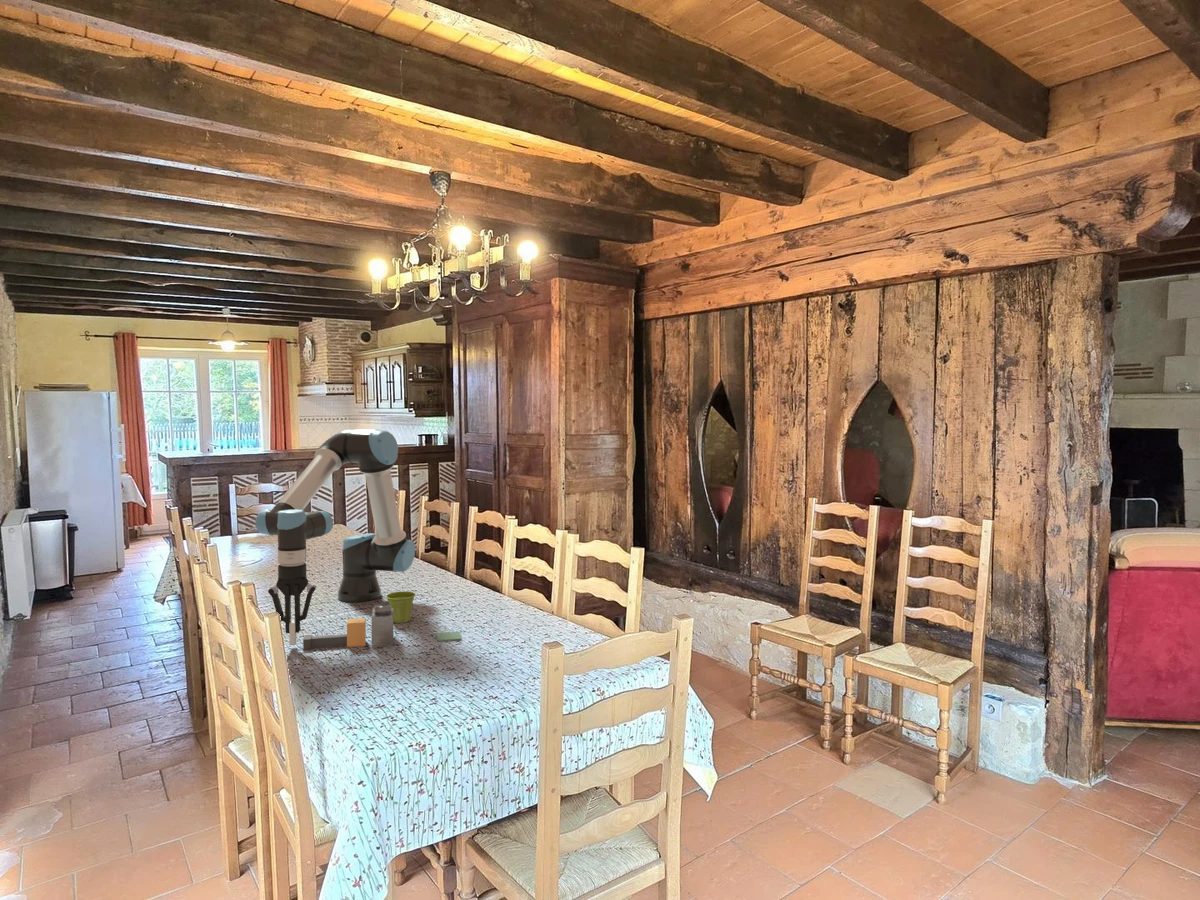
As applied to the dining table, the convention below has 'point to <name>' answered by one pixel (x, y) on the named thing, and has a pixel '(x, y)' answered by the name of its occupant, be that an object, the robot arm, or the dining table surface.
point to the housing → (382, 625)
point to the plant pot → (401, 605)
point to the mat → (448, 636)
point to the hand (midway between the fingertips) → (293, 643)
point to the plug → (340, 637)
